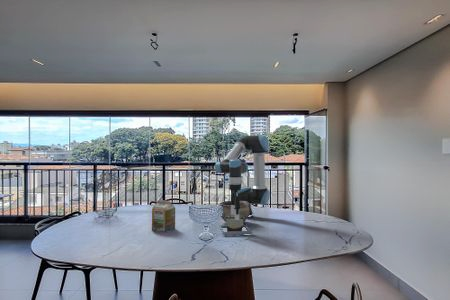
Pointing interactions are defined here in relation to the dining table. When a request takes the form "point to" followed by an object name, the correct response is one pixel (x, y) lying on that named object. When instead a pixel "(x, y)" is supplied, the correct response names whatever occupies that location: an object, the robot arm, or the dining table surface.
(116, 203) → the geometric lantern
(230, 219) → the food container
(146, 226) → the dining table surface
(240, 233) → the tray
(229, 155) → the robot arm
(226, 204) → the ceramic bowl
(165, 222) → the milk carton
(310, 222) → the dining table surface
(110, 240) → the dining table surface
